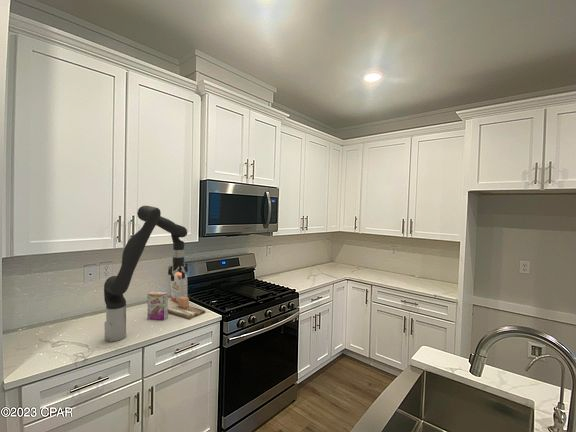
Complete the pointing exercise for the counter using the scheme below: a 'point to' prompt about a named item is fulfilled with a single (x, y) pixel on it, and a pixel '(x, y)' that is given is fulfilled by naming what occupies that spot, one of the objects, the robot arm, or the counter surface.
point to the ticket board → (186, 312)
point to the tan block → (183, 302)
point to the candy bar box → (157, 305)
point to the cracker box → (178, 287)
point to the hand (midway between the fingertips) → (178, 279)
